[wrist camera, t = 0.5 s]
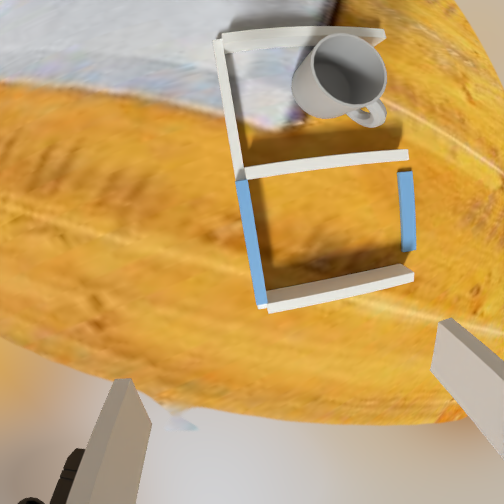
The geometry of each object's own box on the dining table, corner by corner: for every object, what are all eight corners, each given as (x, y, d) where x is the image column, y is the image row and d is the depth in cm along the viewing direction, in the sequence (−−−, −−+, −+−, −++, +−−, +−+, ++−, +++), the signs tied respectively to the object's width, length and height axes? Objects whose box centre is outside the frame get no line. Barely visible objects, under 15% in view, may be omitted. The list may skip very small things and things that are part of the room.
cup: (318, 49, 30) (344, 19, 22) (379, 109, 32) (419, 98, 24) (276, 88, 31) (292, 65, 23) (341, 150, 34) (376, 147, 25)
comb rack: (212, 46, 29) (210, 35, 26) (386, 39, 30) (399, 31, 26) (255, 302, 38) (258, 315, 34) (414, 268, 38) (427, 277, 35)
